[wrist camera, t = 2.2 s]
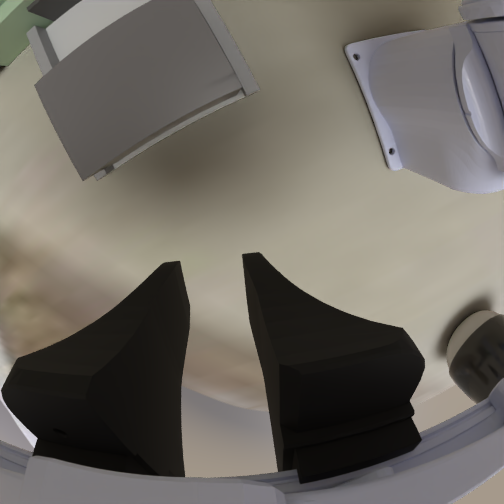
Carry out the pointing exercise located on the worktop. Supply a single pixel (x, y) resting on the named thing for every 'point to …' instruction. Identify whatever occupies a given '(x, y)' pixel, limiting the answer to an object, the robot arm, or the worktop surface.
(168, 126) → the grey open box
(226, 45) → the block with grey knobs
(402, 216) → the worktop surface
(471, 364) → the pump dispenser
